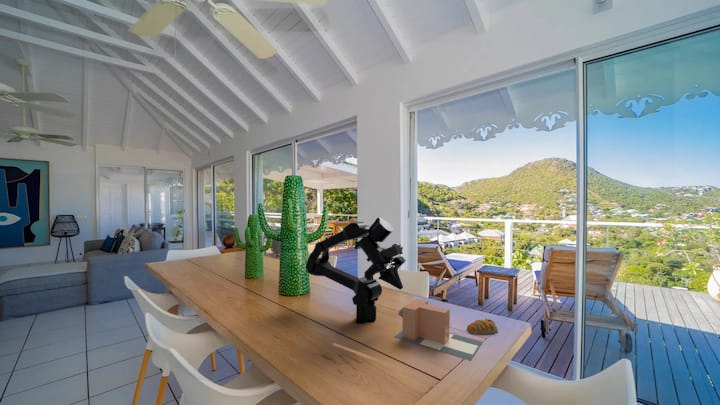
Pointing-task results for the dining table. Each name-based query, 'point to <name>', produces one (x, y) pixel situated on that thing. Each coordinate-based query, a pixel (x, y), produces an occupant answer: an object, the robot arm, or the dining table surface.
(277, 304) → the dining table surface
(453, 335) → the board
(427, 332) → the tee
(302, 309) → the dining table surface
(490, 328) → the pastry
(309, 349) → the dining table surface
